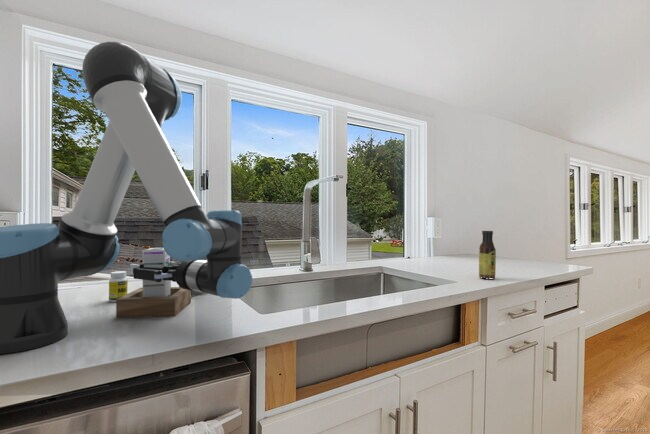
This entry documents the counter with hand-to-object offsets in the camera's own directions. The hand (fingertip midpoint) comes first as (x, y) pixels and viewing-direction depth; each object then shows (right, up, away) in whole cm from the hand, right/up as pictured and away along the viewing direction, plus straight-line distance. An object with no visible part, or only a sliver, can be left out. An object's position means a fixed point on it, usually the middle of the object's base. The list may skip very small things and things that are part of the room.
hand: (147, 267), depth 96 cm
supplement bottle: (-12, -11, +7) cm, 18 cm away
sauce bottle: (+116, -12, +47) cm, 126 cm away
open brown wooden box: (+4, -11, -3) cm, 12 cm away
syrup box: (+4, -9, -3) cm, 10 cm away
